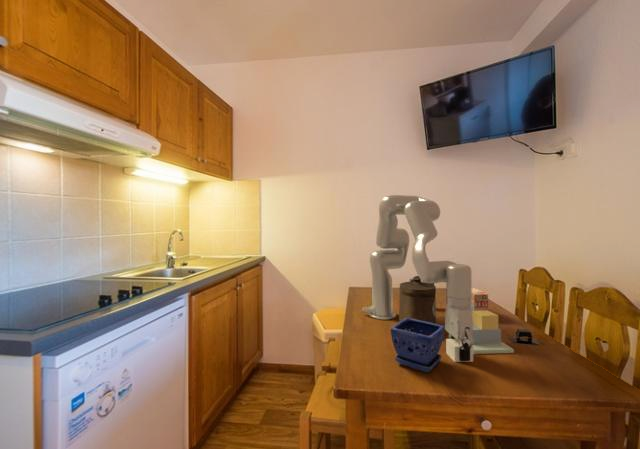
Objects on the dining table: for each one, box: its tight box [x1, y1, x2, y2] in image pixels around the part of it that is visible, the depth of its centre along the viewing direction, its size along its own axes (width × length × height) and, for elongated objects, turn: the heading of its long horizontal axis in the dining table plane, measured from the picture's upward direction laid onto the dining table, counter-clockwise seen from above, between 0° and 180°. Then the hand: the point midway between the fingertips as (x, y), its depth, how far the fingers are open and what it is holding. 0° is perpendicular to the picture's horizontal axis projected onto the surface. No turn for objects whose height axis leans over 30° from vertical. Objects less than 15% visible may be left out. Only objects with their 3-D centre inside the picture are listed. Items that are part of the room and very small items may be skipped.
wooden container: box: [398, 275, 437, 335], centre depth 121 cm, size 15×15×22 cm
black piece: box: [506, 328, 542, 346], centre depth 106 cm, size 12×7×5 cm, turn 75°
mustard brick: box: [472, 309, 499, 330], centre depth 105 cm, size 6×6×5 cm
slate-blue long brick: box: [463, 324, 502, 344], centre depth 105 cm, size 12×6×5 cm, turn 92°
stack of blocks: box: [471, 287, 489, 320], centre depth 139 cm, size 21×6×12 cm, turn 0°
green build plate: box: [472, 341, 515, 355], centre depth 105 cm, size 14×16×1 cm
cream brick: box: [445, 338, 474, 363], centre depth 95 cm, size 6×6×5 cm
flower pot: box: [390, 318, 445, 373], centre depth 91 cm, size 13×13×12 cm
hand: (459, 355), depth 95 cm, fingers closed on cream brick, 6 cm apart
